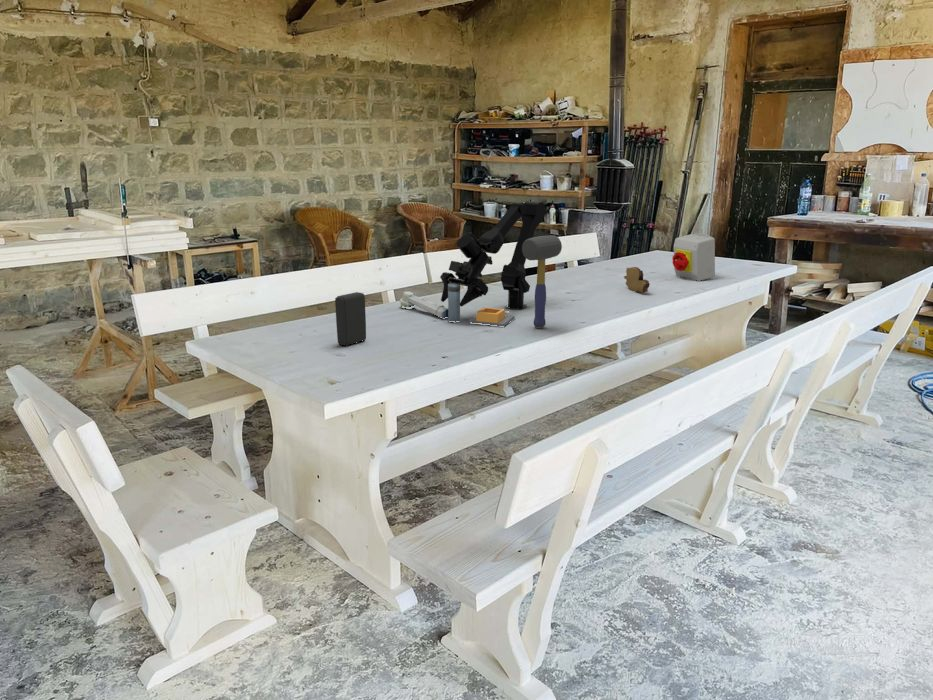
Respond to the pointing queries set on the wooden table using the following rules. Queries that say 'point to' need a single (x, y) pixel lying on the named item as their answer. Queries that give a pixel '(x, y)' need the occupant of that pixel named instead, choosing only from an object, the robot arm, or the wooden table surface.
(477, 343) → the wooden table surface
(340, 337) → the black upright block
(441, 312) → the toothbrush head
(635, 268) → the wooden carving
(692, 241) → the electrical switch box
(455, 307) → the plug
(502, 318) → the panel
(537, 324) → the rubber mallet
